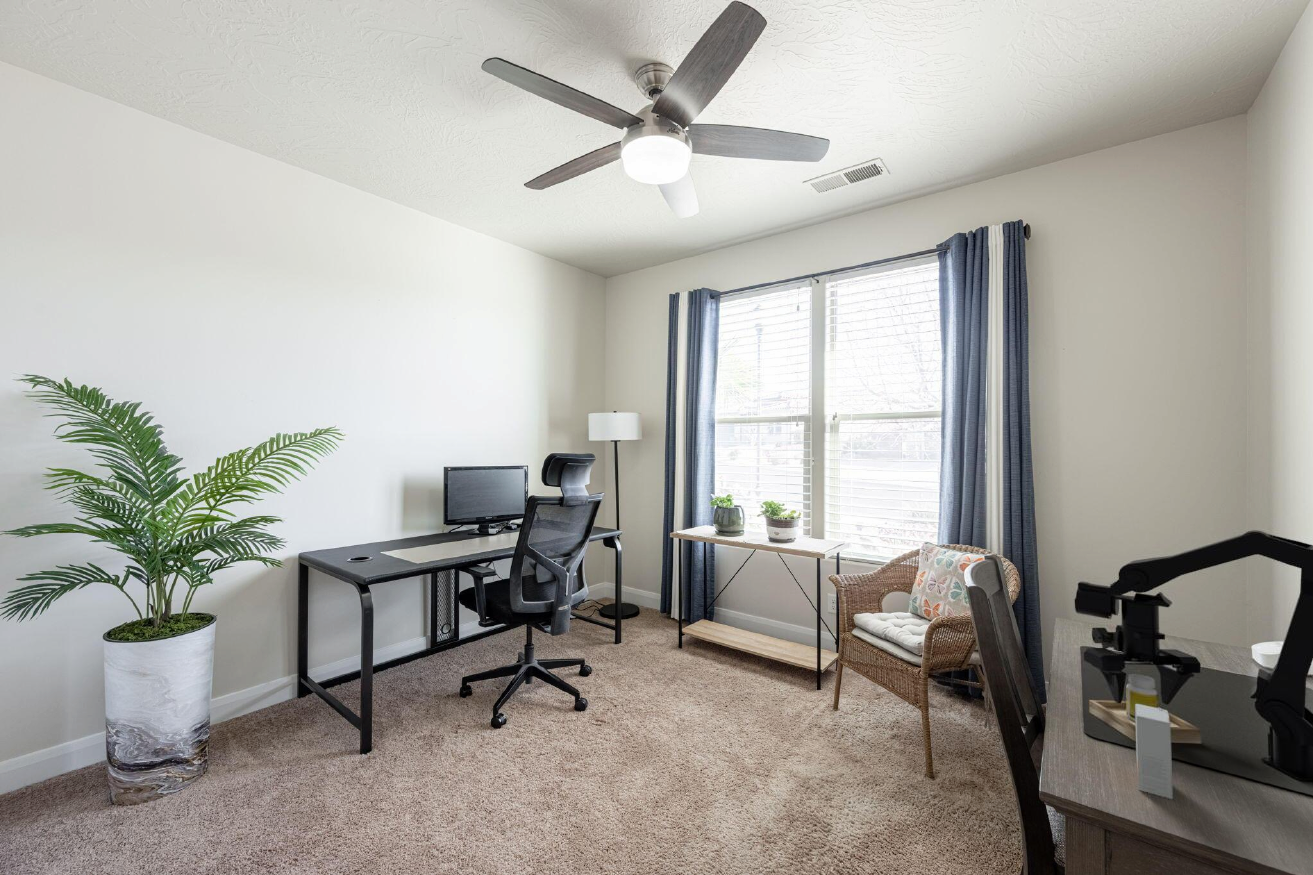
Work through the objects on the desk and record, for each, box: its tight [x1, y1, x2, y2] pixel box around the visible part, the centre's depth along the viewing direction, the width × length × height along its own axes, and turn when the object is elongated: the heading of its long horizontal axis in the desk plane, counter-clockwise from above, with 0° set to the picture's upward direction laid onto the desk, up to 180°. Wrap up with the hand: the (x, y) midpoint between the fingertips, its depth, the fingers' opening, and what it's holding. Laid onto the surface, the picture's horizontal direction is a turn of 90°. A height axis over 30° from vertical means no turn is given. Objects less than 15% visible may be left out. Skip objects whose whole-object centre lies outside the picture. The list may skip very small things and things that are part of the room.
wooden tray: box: [1088, 699, 1202, 744], centre depth 112 cm, size 12×12×3 cm
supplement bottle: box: [1125, 673, 1159, 722], centre depth 112 cm, size 5×5×8 cm
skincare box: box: [1135, 704, 1174, 800], centre depth 91 cm, size 6×4×12 cm
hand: (1141, 703), depth 112 cm, fingers open, 9 cm apart
